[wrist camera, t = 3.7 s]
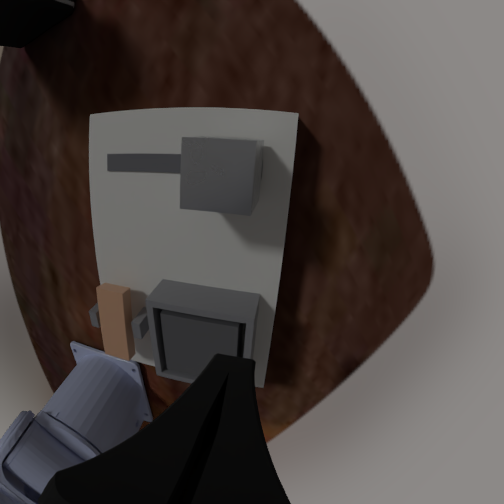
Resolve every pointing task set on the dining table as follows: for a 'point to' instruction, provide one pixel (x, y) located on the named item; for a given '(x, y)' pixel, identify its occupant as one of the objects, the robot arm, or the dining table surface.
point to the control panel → (188, 226)
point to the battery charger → (29, 19)
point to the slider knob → (220, 174)
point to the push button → (197, 340)
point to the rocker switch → (116, 320)
